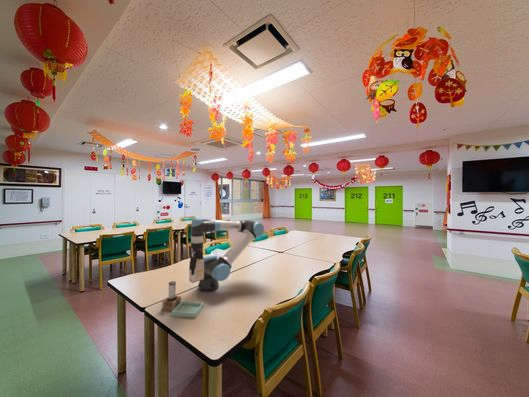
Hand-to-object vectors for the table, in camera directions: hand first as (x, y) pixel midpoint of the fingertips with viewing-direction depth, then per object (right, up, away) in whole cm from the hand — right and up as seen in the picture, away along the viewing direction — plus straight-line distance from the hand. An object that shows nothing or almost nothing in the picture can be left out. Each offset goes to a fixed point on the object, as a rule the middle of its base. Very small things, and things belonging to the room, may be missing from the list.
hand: (196, 276), depth 132 cm
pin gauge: (-13, -16, -8) cm, 22 cm away
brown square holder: (-12, -16, -8) cm, 22 cm away
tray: (-1, -16, -12) cm, 20 cm away
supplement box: (0, -3, 0) cm, 3 cm away
